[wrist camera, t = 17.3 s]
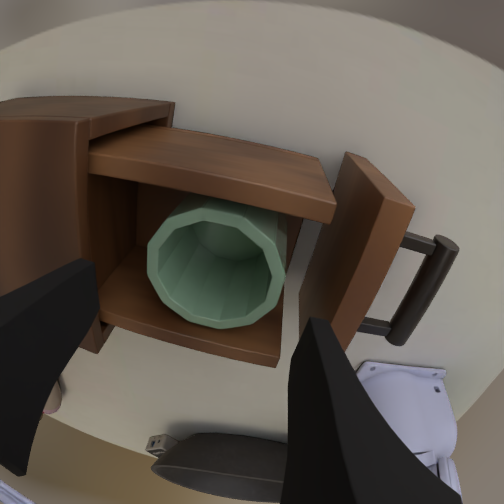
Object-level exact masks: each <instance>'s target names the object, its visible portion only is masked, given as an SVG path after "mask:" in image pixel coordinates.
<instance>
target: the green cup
mask: <svg viewBox="0 0 504 504" xmlns="http://www.w3.org/2000/svg"><path fill="white" fill-rule="evenodd" d="M286 252H287V219H286V215H285V213H280V212H276V211H272V210H268V209H264V208H259V207H255V206H251V205H247V204H242V203H238V202H233V201H229V200H224V199H220V198H215V197H211V196H206V195H201V194H196V193H192V192H190V193H189V194H188V195H187V196H186V197H185V198H184V199H183V201H182V202H181V203H180V204H179V205H178V206H177V207H176V208H175V209H174V211H173V212H172V213H171V214H170V215H169V216H168V217H167V218H166V220H165V221H164V222H163V224H162V225H161V226H160V227H159V229H158V230H157V231H156V233H155V234H154V235H153V237H152V238H151V239H150V241H149V242H148V245H147V276H148V278H149V279H150V281H151V283H152V285H153V287H154V288H155V290H156V292H157V294H158V296H159V297H160V299H161V301H163V303H164V304H165V305H167V306H168V307H169V308H171V309H172V310H174V311H175V312H176V313H178V314H179V315H180V316H182V317H183V318H184V319H186V320H187V321H189V322H193V323H196V324H200V325H204V326H208V327H212V328H216V329H227V328H234V327H240V326H246V325H251V324H253V323H255V322H256V321H257V320H259V319H260V318H261V317H263V316H264V315H265V314H267V313H268V312H269V311H271V310H272V309H273V308H274V307H275V306H276V305H277V303H278V300H279V297H280V294H281V290H282V287H283V284H284V281H285V278H286Z"/></svg>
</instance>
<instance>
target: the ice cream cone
mask: <svg viewBox="0 0 504 504" xmlns="http://www.w3.org/2000/svg"><path fill="white" fill-rule="evenodd" d="M61 401H62V395H61V391H60V387H59V384H58V381H56V383H55V385H54V387H53V389H52V391H51V393H50V396H49V398H48V400H47V403H46V405H45V407H44V410H43V413H46V414H52V413H54V412H56V411H57V410H58V409H59V408H60V406H61Z"/></svg>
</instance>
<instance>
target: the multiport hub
mask: <svg viewBox="0 0 504 504" xmlns="http://www.w3.org/2000/svg"><path fill="white" fill-rule="evenodd" d="M177 443H179V442H178V441H177V440H175V439H173V438H171V437H170V436H168V435H159V436H154V437H150V438H149V441H148V444H147V446H146V449H145V450H146V451H147V452H149V453H151V454H153V455H154V456H156V457H158V458H159V457H160V456H161V455H162V454H164V453H165V452H166V451H167V450H169V449H170V448H171V447H173V446H174V445H176V444H177Z"/></svg>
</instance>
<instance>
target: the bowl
mask: <svg viewBox="0 0 504 504" xmlns="http://www.w3.org/2000/svg"><path fill="white" fill-rule="evenodd" d="M287 450H288V445H287V444H283V443H279V442H275V441H270V440H264V439H259V438H252V437H246V436H238V435H229V434H217V433H202V434H196V435H194V436H192V437H189V438H187V439H185V440H183V441H181V442H179V443H177V444H176V445H174V446H173V447H171V448H170V449H169V450H167V451H166V452H165V453H164V454H162V455H161V456H160V457H159V458H158V459H157V461H156V462H155V463H154V464H153V465H152V466H151V470H152V471H153V472H154V473H155V474H157V475H158V476H160V477H162V478H164V479H166V480H168V481H170V482H172V483H175V484H177V485H180V486H183V487H186V488H189V489H193V490H196V491H200V492H204V493H207V494H212V495H216V496H221V497H227V498H232V499H239V500H247V501H256V502H273V503H280V500H281V494H282V488H283V482H284V475H285V468H286V461H287Z"/></svg>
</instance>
